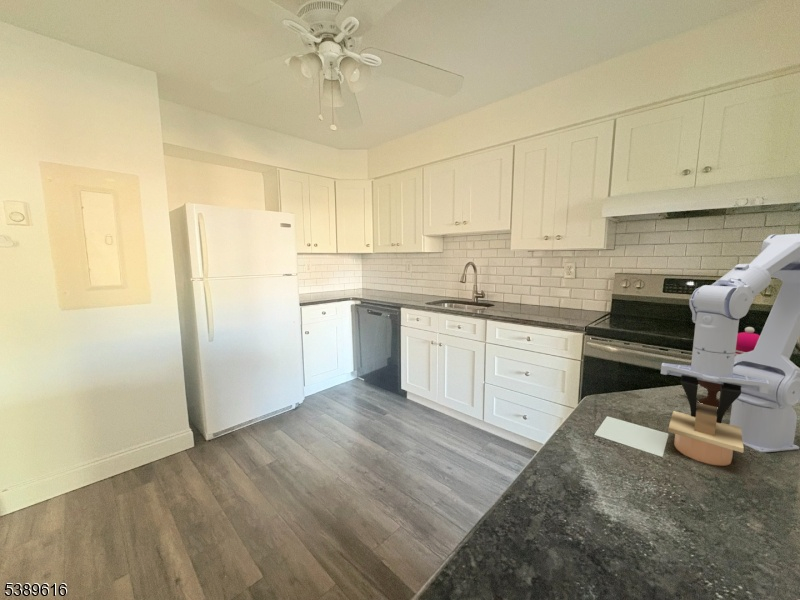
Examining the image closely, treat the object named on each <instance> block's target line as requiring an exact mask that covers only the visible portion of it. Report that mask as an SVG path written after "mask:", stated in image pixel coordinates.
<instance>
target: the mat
mask: <svg viewBox="0 0 800 600" xmlns="http://www.w3.org/2000/svg"><path fill="white" fill-rule="evenodd" d="M669 435H670V434H669V432H668V433H667V432H664V431H660V430H658V429H653V428H650V427H647V426H643V425H641V424H640V425H639V424H636V423H633V422H628V421H626V420H622V419H619V418H614V417H611V416H606V417H605V419H604V420H603V421H602V423H601V425H600V426H599V427H598V429H597V430H596V431H595V433H594V436H597V437H599V438H603V439H606V440H609V441H612V442H615V443H618V444H622V445H625V446H628V447H631V448H634V449H637V450H639V451H643V452H646V453H649V454H652V455H655V456H658V457H662V458H663V456H664V453H665V449H666V445H667V441H668V439H669Z"/></svg>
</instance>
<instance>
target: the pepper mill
mask: <svg viewBox="0 0 800 600" xmlns="http://www.w3.org/2000/svg"><path fill="white" fill-rule="evenodd" d="M754 332H756V331H755V328H754V327H752V326H747V327H745V328H744V331H743V332H738V335H737V343H736V351H735V356H736V355H739V354H743V353H746V352H750V351H753V350H754V348H755V346H756V344H757V342H758V339H759V337H760V335H761V334H760V335H759V334H758V333H754Z"/></svg>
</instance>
